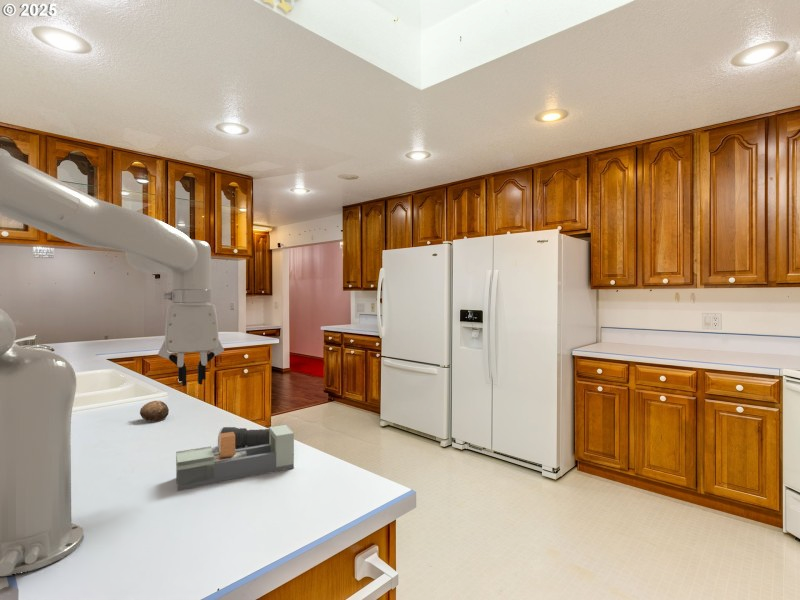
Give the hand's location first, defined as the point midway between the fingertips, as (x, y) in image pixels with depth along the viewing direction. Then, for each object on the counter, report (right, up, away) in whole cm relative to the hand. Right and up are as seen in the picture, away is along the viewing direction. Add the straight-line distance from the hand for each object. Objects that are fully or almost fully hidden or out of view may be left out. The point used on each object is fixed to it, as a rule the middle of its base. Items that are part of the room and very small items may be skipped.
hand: (192, 383), depth 93 cm
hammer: (+3, -20, +2) cm, 20 cm away
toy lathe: (+8, -21, +5) cm, 23 cm away
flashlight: (+5, -21, +21) cm, 30 cm away
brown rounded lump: (-33, -20, +44) cm, 59 cm away
